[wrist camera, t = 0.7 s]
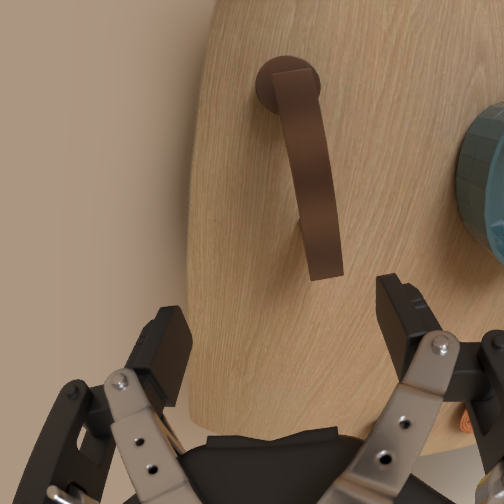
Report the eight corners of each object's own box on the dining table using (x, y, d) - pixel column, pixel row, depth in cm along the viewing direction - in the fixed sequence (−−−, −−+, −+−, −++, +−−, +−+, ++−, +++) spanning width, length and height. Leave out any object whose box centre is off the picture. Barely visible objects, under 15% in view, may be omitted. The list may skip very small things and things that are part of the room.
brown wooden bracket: (251, 66, 23) (241, 48, 15) (308, 56, 23) (325, 35, 15) (288, 234, 30) (292, 284, 22) (338, 225, 29) (361, 272, 21)
